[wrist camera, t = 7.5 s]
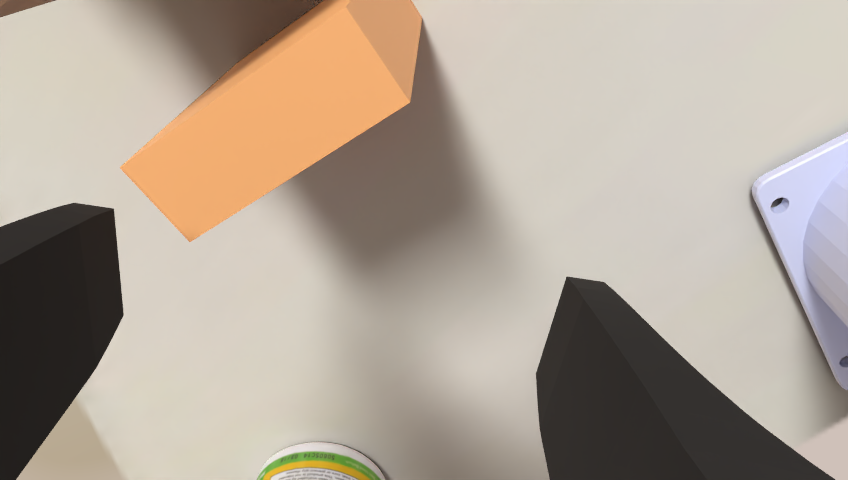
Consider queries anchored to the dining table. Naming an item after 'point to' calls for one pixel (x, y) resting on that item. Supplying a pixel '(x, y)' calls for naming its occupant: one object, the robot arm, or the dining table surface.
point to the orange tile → (281, 111)
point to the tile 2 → (18, 5)
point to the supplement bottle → (319, 464)
